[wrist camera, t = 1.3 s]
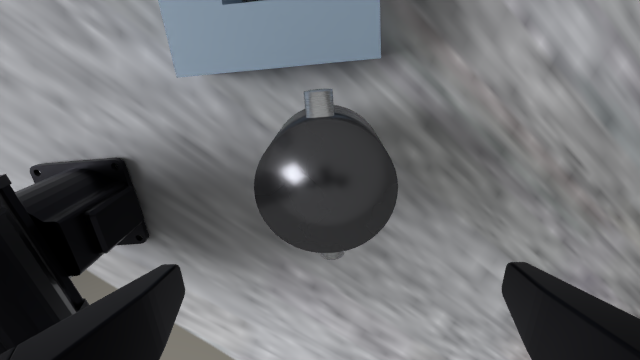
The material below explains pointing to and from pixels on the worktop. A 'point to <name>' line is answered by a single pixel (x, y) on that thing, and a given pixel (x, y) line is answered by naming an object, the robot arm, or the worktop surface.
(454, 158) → the worktop surface
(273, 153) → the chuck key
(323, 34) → the block
